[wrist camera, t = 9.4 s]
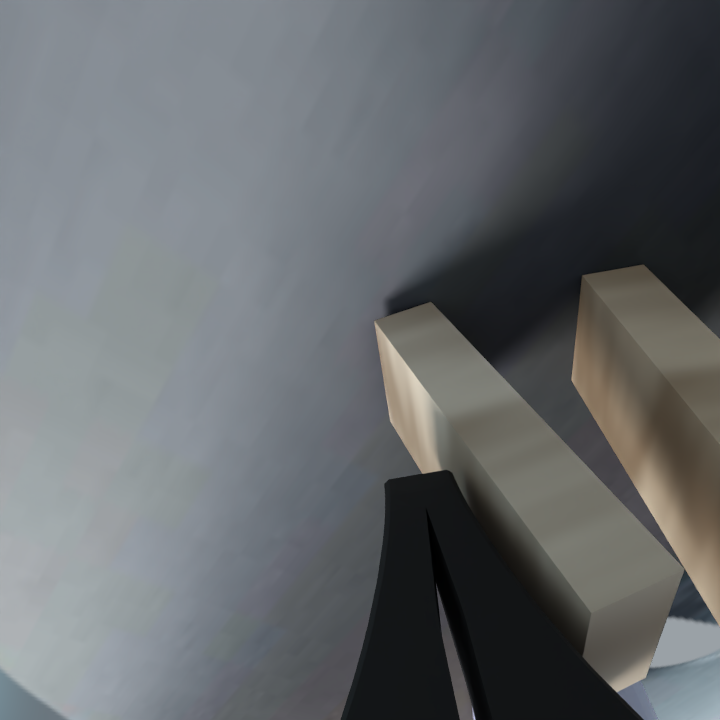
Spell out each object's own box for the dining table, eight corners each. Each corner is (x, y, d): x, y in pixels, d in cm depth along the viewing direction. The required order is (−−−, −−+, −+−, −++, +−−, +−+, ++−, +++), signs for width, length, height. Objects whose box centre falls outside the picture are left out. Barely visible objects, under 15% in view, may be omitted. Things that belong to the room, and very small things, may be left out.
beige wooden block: (625, 371, 17) (840, 664, 10) (571, 380, 17) (751, 678, 10) (643, 264, 15) (933, 548, 8) (582, 275, 15) (819, 566, 8)
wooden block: (439, 403, 17) (645, 677, 11) (390, 421, 17) (571, 715, 10) (430, 301, 15) (684, 569, 8) (374, 320, 15) (591, 613, 8)
